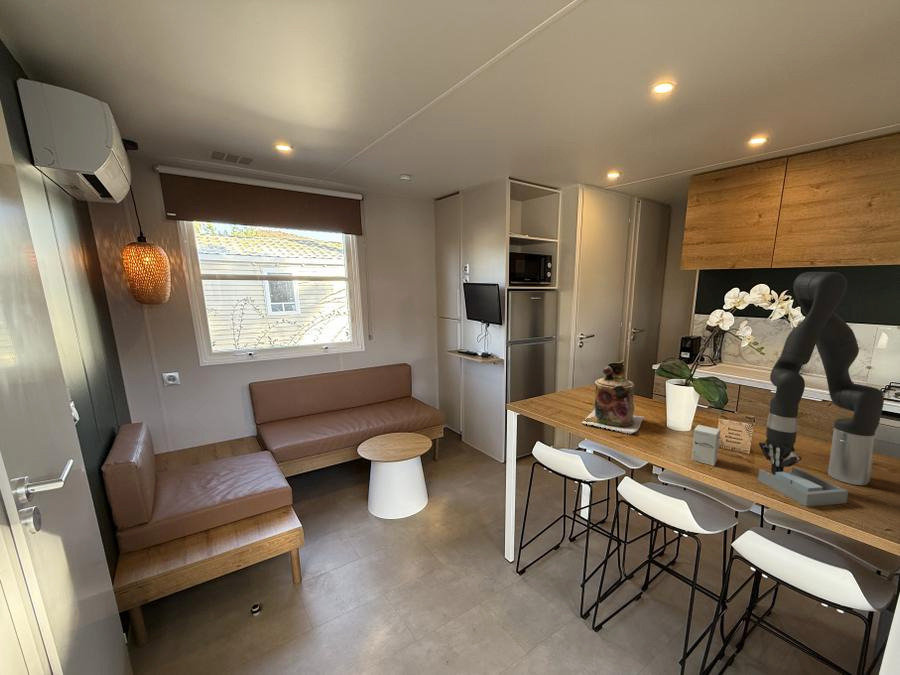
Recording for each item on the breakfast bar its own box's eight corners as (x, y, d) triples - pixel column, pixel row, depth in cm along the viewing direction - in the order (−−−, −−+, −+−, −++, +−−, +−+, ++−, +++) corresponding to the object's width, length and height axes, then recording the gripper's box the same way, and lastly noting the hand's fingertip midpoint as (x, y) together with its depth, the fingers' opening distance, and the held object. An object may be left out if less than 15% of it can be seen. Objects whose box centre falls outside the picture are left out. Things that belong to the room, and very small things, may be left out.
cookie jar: (594, 411, 196) (596, 354, 191) (644, 420, 181) (648, 358, 177) (580, 425, 176) (582, 361, 172) (635, 436, 161) (639, 367, 157)
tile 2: (804, 490, 117) (805, 478, 117) (821, 499, 112) (822, 487, 112) (790, 491, 117) (791, 479, 116) (806, 500, 112) (808, 488, 111)
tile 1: (787, 482, 122) (788, 471, 122) (803, 490, 117) (804, 478, 117) (774, 483, 122) (775, 472, 121) (789, 491, 117) (790, 479, 116)
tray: (794, 477, 125) (795, 466, 124) (846, 503, 110) (848, 490, 109) (758, 480, 123) (759, 469, 123) (805, 506, 108) (807, 494, 108)
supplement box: (690, 460, 138) (693, 429, 137) (695, 454, 144) (697, 423, 142) (714, 466, 133) (716, 434, 132) (718, 460, 138) (720, 428, 137)
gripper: (813, 434, 115) (807, 484, 118) (772, 419, 128) (767, 465, 131) (792, 435, 115) (786, 486, 117) (753, 420, 128) (748, 466, 130)
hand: (776, 474), depth 124 cm, fingers closed
